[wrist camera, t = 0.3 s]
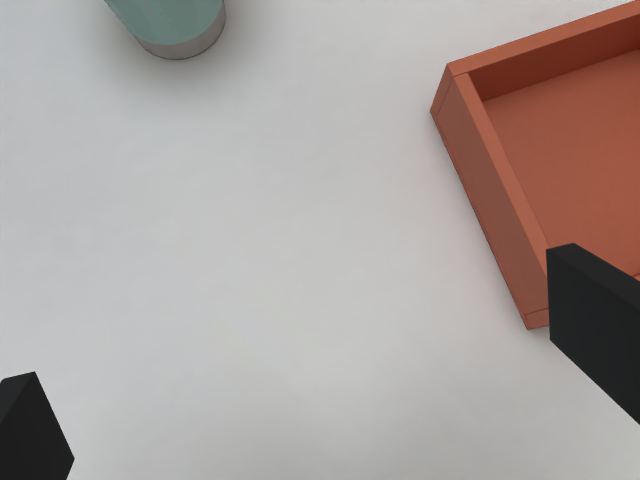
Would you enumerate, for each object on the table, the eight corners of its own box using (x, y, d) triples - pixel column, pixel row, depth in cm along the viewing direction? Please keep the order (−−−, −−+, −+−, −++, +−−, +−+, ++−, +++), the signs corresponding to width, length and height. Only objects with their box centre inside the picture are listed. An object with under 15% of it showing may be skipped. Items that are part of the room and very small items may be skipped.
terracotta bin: (756, 245, 29) (840, 220, 24) (527, 330, 28) (566, 322, 24) (639, 38, 32) (692, -20, 28) (429, 110, 32) (446, 63, 27)
